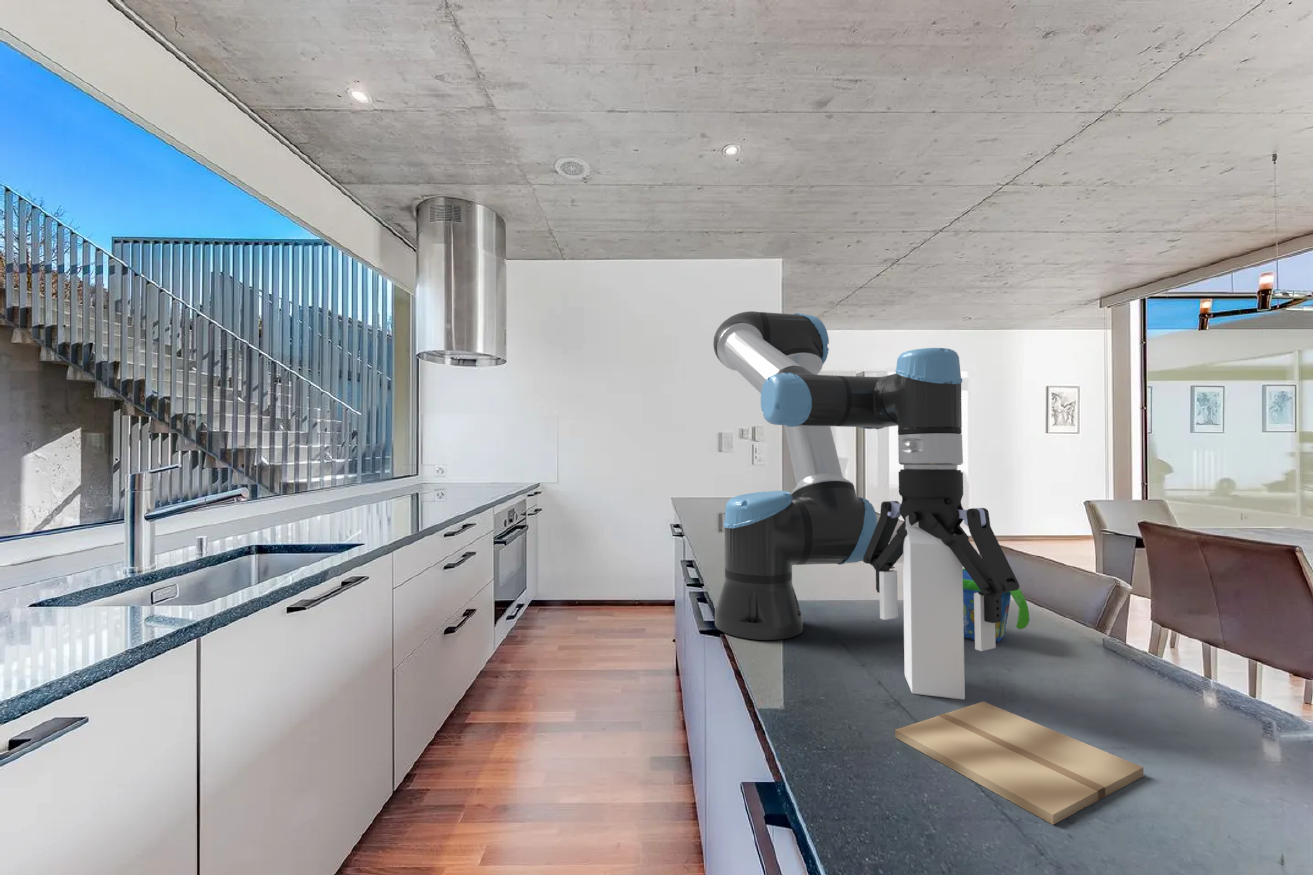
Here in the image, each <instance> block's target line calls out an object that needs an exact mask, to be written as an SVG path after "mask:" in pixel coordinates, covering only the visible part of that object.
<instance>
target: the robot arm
mask: <svg viewBox="0 0 1313 875" xmlns="http://www.w3.org/2000/svg"><path fill="white" fill-rule="evenodd" d="M714 333H715V334H714V336H713V351H714V353H715V356H716V358H717V360H718V361H720V363H721V364H722V365H723V366H725V368H727V369H730V370H732V371H737V372H738V373H739V374H740V375H741V376H742V377H743V378H744V379H746V381H747V382H748V383H749V384H750V385H751V386H752V387H754V389H755V390H757V391H758V392H759V393H760V408H761V411H762V414H763V418H764V419H765V421H766V422H768V423H769V424H771V425H774V426H775V425H776V426H777V425H778V426H784V431H785V435H786V440H787V444H788V451H789V456H790V460H791V465H792V470H793V475H794V480H795V484H796V486H795V488H793V490H792V491H791V492H790V491H787V490H772V491H770V490H769V491H759V492H757V491H756V492H750V493H746V494H739V495H736V496H733V497H731V498H730V499H729V500H728V501H727V502H726V505H725V509H724V510H725V512H724V520H723V528H724V582H723V586H722V587H721V588H722V589H721V591H720V594H719V598H718V601H717V604H716V608H715V610H714V626H715V627H716V628H717V630H719V631H720V632H722V633H725V634H727V635H730V636H734V637H737V638H742V639H750V640H759V641H777V640H784V639H785V640H786V639H790V638H794V637H797V636H799V635H800V634H801V633H802V632H803V631H804V618H803V613H802V611H801V609H800V605H799V601H798V598H797V595H796V592H795V589H794V586H793V566H799V565H800V566H803V565H805V566H806V565H839V566H842V565H845V564H850V563H852V564H853V563H859V562H861V561H863V562H864V564H869V565H870V566H872V567H873V569H874V570H875V590H876V593H879V619H880V620H884V621H886V620H887V621H888V620H892V619H897V618H899V614H898V611H899V610H898V608H899V607H898V604H899V603H898V570H894V569H895V568H896V567H895V566H894V565H895V564H896V563H897V562H898V561H899V559H900V558H901V557H902V556H903V543H904V538H905V536H906V535H907V529H905V528H906V516H908V515H909V523H910V525H911V526H912V525H914V524H915V523H916V522H918V525H919V528H921V529H922V530H924V531H926V532H927V533H929V534H931V535H932V536H934V537H936V538H939V539H941V540H942V542H943V543H944V544H945V545H946V546H948V547H950V549H951V550H952V552H953V553H954V554H955V556H956V557H957V558H958V560H959V561H960V563H961V564H962V565H963V569H965V570H966V571H967V572H968V574H969V575H970V577H971V578H972V579H973V581H974V582H975V583H976V585H977V586H978V588H979V589H980V590H981V591H980V592H978V593H974V621H975V640H974V650H976V651H979V652H984V651H987V650H992V649H996V647H997V646H996V644H997V642H995V623H996V622H1000V620H1001V618H1002V613H1001V595H1002V594H1003V593H1004V592H1010V591H1016V590H1018V589H1019V590H1020V583H1019V581H1018V579H1017V577H1016V575H1015V573H1014V571H1013V569H1012V567H1011V565H1010V563H1009V562H1008V559H1007V557H1006V555H1005V553H1004V551H1003V549H1002V546H1001V545H1000V543H999V540H998V539H997V537H996V534H995V533H994V531H993V529H992V527H991V521H990V520H991V519H990V515H989V514H990V513H989V510H988V509H987V508H984V507H977V508H974V507H973V508H968V509H964V508H963V504H962V500H963V496H964V472H962V470H961V469H958V466H961V465H963V464H964V458H963V457H964V456H963V452H964V449H963V434H962V426H963V425H962V423H963V422H962V416H963V415H962V383H963V378H962V375H961V363H960V357H959V354H958V352H956V351H955V350H954V349H951V348H946V347H926V348H925V347H924V348H917V349H911V350H910V349H909V350H907V351H904V352H902V353H901V354H900V355H899V356H898V357H897V361H896V368H895V373H893V374H888V375H884V376H883V375H882V376H861V375H860V376H854V375H847V376H846V375H830V374H828V375H827V374H819V373H820V372H821V371H822V369H823V365H824V364H825V362H826V361H827V358H828V355H829V351H830V350H829V347H828V345H829V344H830V339H829V335H828V334H829V333H828V330H827V328H826V326H825V324H824V323H823V321H822V320H821V319H820V318H818V317H817V316H815V315H811V314H810V315H809V314H804V313H800V312H796V313H779V312H765V311H755V310H754V311H750V310H748V311H742V312H738V313H736V314H734V315H732V316H730V317H728V318H727V319H725V320H724V321H723V322H722V323H721V324H720V325H719V326H718V328H717V329H716V331H715V332H714ZM896 426H897V435H898V436H897V438H898V439H897V442H898V444H897V445H898V448H897V449H898V450H897V451H898V464H899V465H903V468H902V469H900V470H899V471H898V494H899V496H901V499H902V500H901V503H900V502H899V501H897V500H891V501H890V500H889V501H882V502H881V505H880V515H879V519H878V517H877V513H876V510H875V508H874V505H873V504H872V503H871V502H870V501H869V500H868V499H866V498H864V497H862V496H861V497H860V496H857V492H856V490H855V489H856V488H855V485H854V482H852V481H850V480H849V479H846V478H844V476H843V472H842V468H841V463H840V460H839V455H838V452H837V448H836V444H835V441H834V436H833V435H834V434H833V432H832V428H831V427H843V428H844V427H846V428H847V427H849V428H850V427H851V428H860V429H867V430H873V429H874V430H881V429H884V428H888V427H889V428H890V427H896ZM900 517H902V519H903V521H902V523H901V524H900V526H899V527H898V528H897V529H896V527H897V525H898V522H899V519H900ZM962 523H963V524H964V525H966V526H967V527H968V530H969V534H970V536H971V538H972V540H973V542H974V544H975V547H976V548H977V549H976V548H975V547H974V546H973V544H972V543H971V542H970V540H969V539H970V538H969V536H968V534H967V533H966V531H965V530H964V529H963V528H962V527H961V524H962ZM895 530H896V532H895V533H896V534H895V536H894V537H892V536H893V534H894V531H895ZM954 533H955V534H956V535H953V534H954Z"/></svg>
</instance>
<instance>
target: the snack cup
mask: <svg viewBox="0 0 1313 875" xmlns="http://www.w3.org/2000/svg"><path fill="white" fill-rule="evenodd" d="M980 591H981V590H980V589H979V588H978V586H977V585H976V583H975V582H974V581H973V579H972V578H971V577H970V575H969V574H968V572H967V571H966V570H965V568H963V620H964V639H965V638H966V639H971V640H972V641H975V621H974V593H978V592H980ZM1011 598H1012V599H1013V600H1014V602H1015V604H1016V605H1017V607H1018V615H1017V620H1016V621H1017V622H1016V626H1015V627H1016V628H1017V629H1019V630H1022V629H1025V628H1026V627H1027V626H1028V625H1029V622H1030V612H1029V606H1028V604H1027V599H1026V598H1025V595H1024V593H1023V592H1022V590H1021V589H1020V588H1019V589H1018V590H1016V591H1010V592H1004V593H1003V594H1002V595H1001V613H1002V618H1001V620H1000V622H996V623H995V642H996V643H998V642H1001V641H1002V640H1003V639H1004V637H1005V633H1006V629H1007V623H1008V617H1009V610H1010V605H1011V604H1010V603H1011Z"/></svg>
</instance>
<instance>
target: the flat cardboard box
mask: <svg viewBox="0 0 1313 875" xmlns="http://www.w3.org/2000/svg"><path fill="white" fill-rule="evenodd" d="M894 738H895V739H897V740H900V741H901V742H903V743H905V744H906V745H909V746H910V747H911V748H912V749H913V748H914V749H915V750H917V751H919V752H921V753H923V754H925V755H926V756H928V757H930V758H932V759H933V760H935V761H937V762H939V763H941V765H944V766H946V767H947V768H949V769H951V770H953V771H955V772H957V773H959V774H961V775H963V776H964V777H966V778H967V779H970V780H971V781H973V782H975V783H977V784H978V785H980V786H983V787H985V789H987V790H990V791H992V792H993V793H995V794H996V795H998V796H1000V797H1002V798H1003V799H1006V800H1007V801H1009V802H1011V803H1013V804H1014V805H1017V806H1018V807H1020V808H1021V809H1024V810H1025V811H1027V812H1029V813H1031V814H1032V815H1035V816H1037V817H1038V818H1040V819H1042V820H1044V821H1045V822H1047V823H1049V824H1051V825H1052V826H1053V825H1055V824H1058V823H1059V822H1061V821H1064V820H1065V819H1067V818H1068V817H1070V816H1072V815H1074V814H1076V813H1078V812H1080V811H1081V809H1082V810H1084V809H1085V808H1088V807H1089V806H1091V805H1093V804H1094V803H1097V802H1099V801H1100V800H1102V799H1104V798H1105V797H1107V796H1109V795H1111V794H1113V793H1115V792H1117V791H1118V790H1120V789H1123V788H1124V787H1126V786H1128V785H1130V784H1131V783H1133V782H1134V783H1135V781H1137V780H1139V779H1141V778H1142V777H1144V767H1143V766H1142V765H1139V764H1137V763H1134V762H1132V761H1129V760H1126V759H1124V758H1122V757H1120V756H1117V755H1114V754H1113V753H1112V754H1111V753H1110V752H1107V751H1105V750H1102V749H1100V748H1098V747H1095V746H1093V745H1090V744H1088V743H1086V742H1083V741H1080V740H1078V739H1075V738H1073V737H1072V736H1071V737H1070V736H1069V735H1066V734H1063V733H1061V732H1058V731H1057V730H1054V729H1051V728H1049V727H1046V726H1044V725H1041V724H1039V723H1036V722H1035V721H1032V720H1029V719H1027V718H1024V717H1022V716H1020V715H1017V714H1015V713H1012V712H1009V711H1008V710H1005V709H1003V708H1000V707H998V706H995V705H993V704H991V703H989V702H986V701H980V702H977V703H974V704H971V705H968V706H965V707H961V708H957V709H955V710H952V711H949V712H946V713H945V712H944V713H942V714H938V715H936V716H933V717H929V718H928V719H923V720H921V721H918V722H914V723H912V724H909V725H906V726H901V727H900V728H895V730H894ZM1084 807H1085V808H1084ZM1079 810H1080V811H1079ZM1077 811H1078V812H1077Z"/></svg>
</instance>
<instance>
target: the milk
mask: <svg viewBox="0 0 1313 875" xmlns="http://www.w3.org/2000/svg"><path fill="white" fill-rule="evenodd" d="M905 529H907V535H906V536H905V538H904V543H903V554H902V571H903V572H902V575H903V576H902V577H903V578H902V581H903V583H902V584H903V586H902V587H903V589H902V590H903V594H902V595H903V649H904V652H903V654H904V655H903V656H904V657H903V658H904V661H903V662H904V663H903V664H904V666H903V667H904V677H905V679H906V681H907V684H908V687H909V689H910V692H911V693H912V694H913V695H923V696H929V697H938V698H946V699H956V700H963V701H964V700H965V699H966V695H965V694H966V690H965V689H966V686H965V681H966V680H965V640H964V639H965V637H964V620H963V569H964V567H963V565H962V564H961V563H960V561H959V560H958V558H957V557H956V556H955V554H954V553H953V552H952V550H951V549H950V547H948V546H946V545H945V544H944V543H943V542H942V540H941V539H939V538H936V537H934V536H932V535H931V534H929V533H927V532H926V531H924V530H922V529H921V528H919V525H918V522H916V523H915V524H914V525H912V526H911V525H910V523H909V515H908V516H906V528H905ZM953 535H956V534H955V533H954V534H953Z"/></svg>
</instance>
